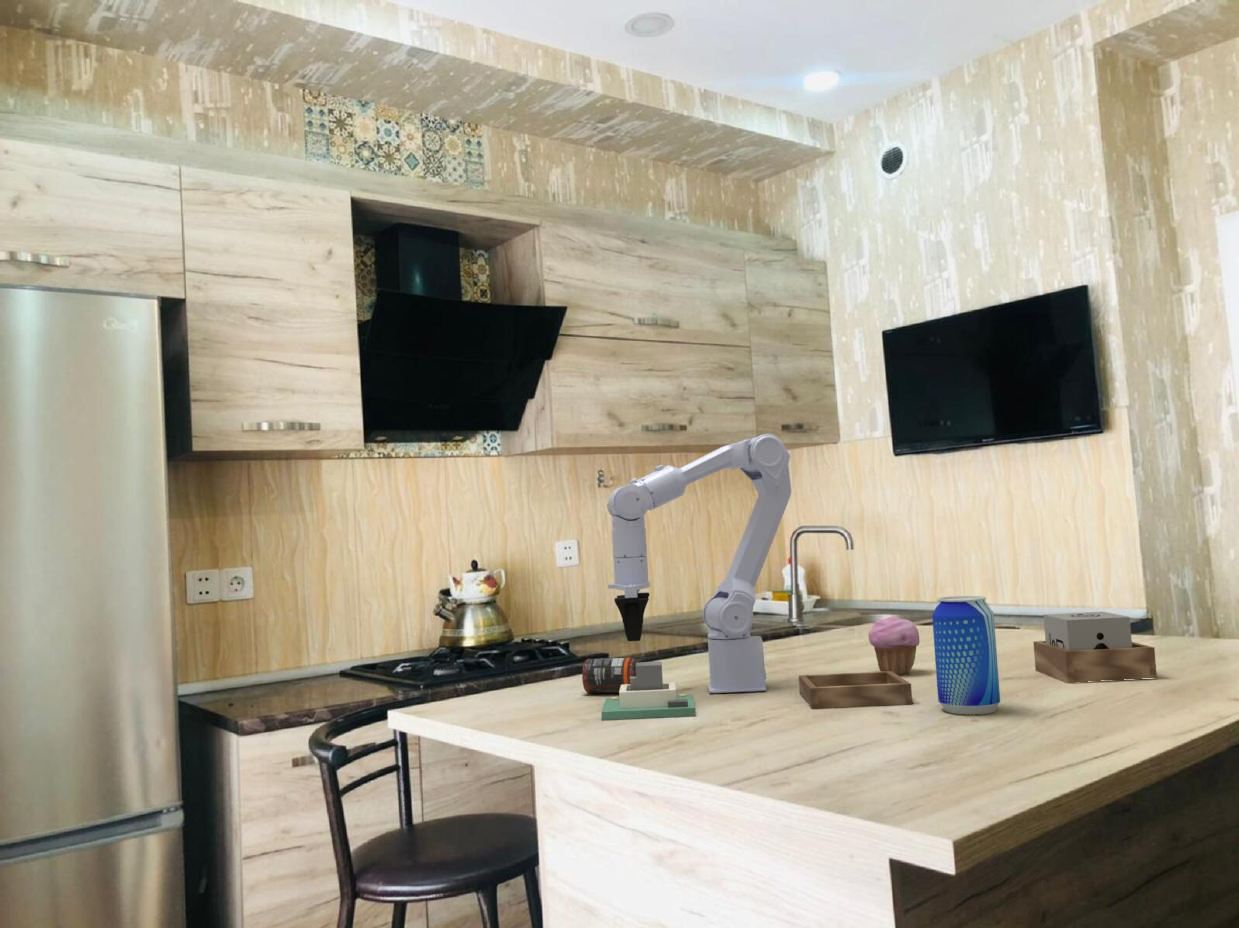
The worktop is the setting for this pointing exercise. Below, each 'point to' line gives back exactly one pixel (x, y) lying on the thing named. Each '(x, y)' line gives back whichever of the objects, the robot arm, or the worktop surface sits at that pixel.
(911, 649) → the cupcake
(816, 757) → the worktop surface
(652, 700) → the frame
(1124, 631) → the icon cube
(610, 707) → the board
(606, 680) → the supplement bottle
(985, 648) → the beer can
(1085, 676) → the cube crate
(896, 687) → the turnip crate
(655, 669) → the plug
